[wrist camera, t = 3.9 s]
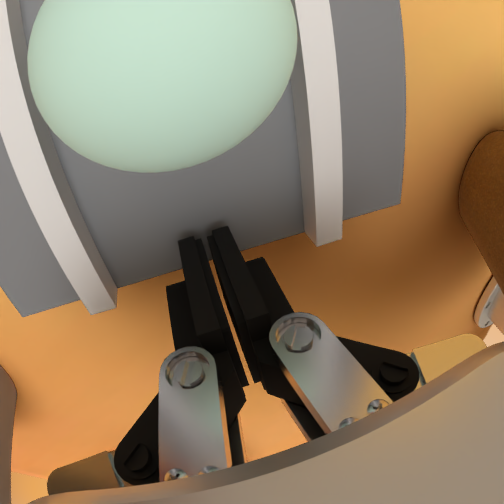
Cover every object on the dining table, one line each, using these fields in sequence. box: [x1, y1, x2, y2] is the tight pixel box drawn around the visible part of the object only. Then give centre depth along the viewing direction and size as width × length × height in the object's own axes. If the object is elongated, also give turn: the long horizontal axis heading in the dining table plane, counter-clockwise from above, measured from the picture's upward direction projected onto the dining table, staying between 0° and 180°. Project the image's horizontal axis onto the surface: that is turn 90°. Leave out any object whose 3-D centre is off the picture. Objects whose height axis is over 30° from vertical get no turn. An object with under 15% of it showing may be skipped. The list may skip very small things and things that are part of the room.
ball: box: [27, 0, 297, 173], centre depth 5 cm, size 5×5×5 cm
